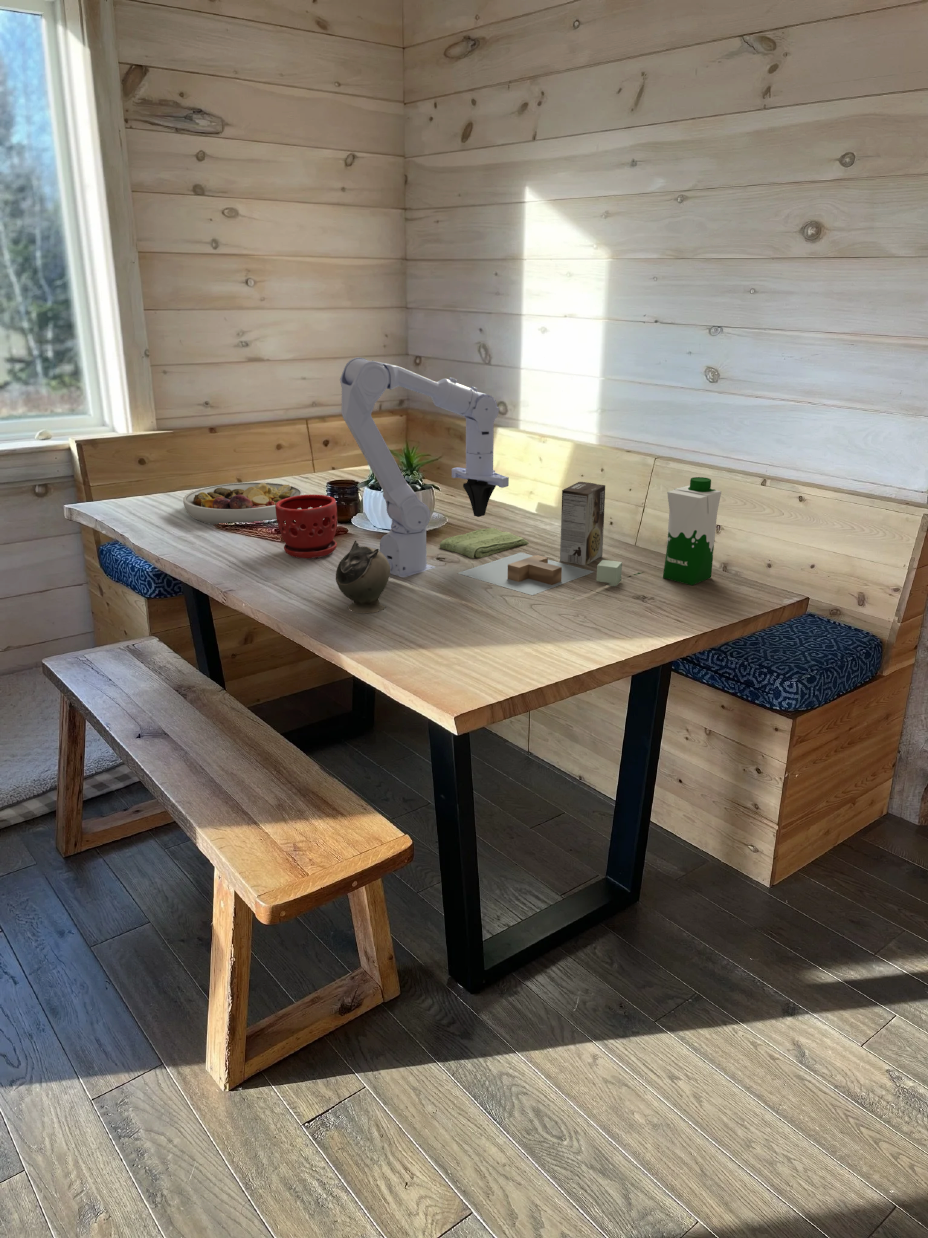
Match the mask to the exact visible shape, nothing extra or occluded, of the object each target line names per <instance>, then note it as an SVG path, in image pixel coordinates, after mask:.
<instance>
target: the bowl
mask: <svg viewBox="0 0 928 1238" xmlns="http://www.w3.org/2000/svg"><path fill="white" fill-rule="evenodd" d="M299 495H304V491H303V490H302V488H301V489H300V488H299V487H296V486H294V485H290V484H286V483H285V484H284V483H280V482H279V483H278V482H266V481H265V482H264V481H263V482H260V481H255V482H253V481H252V482H232V483H225V484H224V483H223V484H218V485H211V486H207V487H203V488H198V489H195V490H194V491H191V492H189V493H187V494H186V495H184V497H183V499H182V501H183V503H182V504H183V507H184V509H185V511H186V513H187V514H188V515H189V516H190V517H191V518H193V519H195V520H197V522H198V521H199V522H201V523H204V522H205V524H208V523H210V525H214V524H219V523H228V522H254V521H263V520H272V519H277V517H276V509H275V505H276V503H277V502H278V501H280V500H282V499H285V498H289V497H293V496H299ZM298 509H301V508H298Z"/></svg>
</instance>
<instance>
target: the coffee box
mask: <svg viewBox="0 0 928 1238" xmlns="http://www.w3.org/2000/svg"><path fill="white" fill-rule="evenodd" d="M605 500H606V485H605V484H597V483H593V482H588V481H586V482H585V481H577V482H576V483H573V484H572V485H570V486H568V487H565V488H564V489H562V490H561V515H560V516H561V518H560V520H561V521H560V544H559V545H560V547H559V562H562V563H563V562H565V563H569V564H577V565H582V566H587V565H588V564H591V563H592V562H593V561H594V562H595V560H597V559H598V558H603V549H604V527H605V508H606V507H605V505H606V503H605Z"/></svg>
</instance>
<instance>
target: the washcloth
mask: <svg viewBox="0 0 928 1238" xmlns="http://www.w3.org/2000/svg"><path fill="white" fill-rule="evenodd" d="M529 544H530V543H529V541H528V540H526V539H524V537H521V536H518V535H515V534H513V533H512V532H509V531H501V530H500V529H498V528H495V527H488V528H481V529H480V528H479V529H477V530H474V531H473V530H472V531H470V532H467V533H464V534H458V535H453V536H450V537H446V538H445V539H443V540H442V541H440V543H439V547H440V549H443V550H446V551H449V552H452V553H457V554H459V555H463V556H466V557H468V558H470V559H477V558H478V559H479V558H480V559H481V558H482V559H483V558H485V557H488V556H492V555H493V554H498V553H501V552H503V551H507V550H510V549H513V548H516V547H517V548H518V547H519V546H525V545H529Z"/></svg>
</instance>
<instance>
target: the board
mask: <svg viewBox="0 0 928 1238" xmlns="http://www.w3.org/2000/svg"><path fill="white" fill-rule="evenodd" d="M532 556H534V555H532V554H528V553H525V552H521V551H520V552H518V553H514V554H511V555H509V556H505V557H502V558H499V559H497V560H493V561H490V562H487V563H484V564H480V565H477V566H475V567H472V568H469V569H466V570H463V571H459V572H457V574H458V575H462V576H464V577H465V576H466V577H468V578H472V579H475V580H478V581H482V582H485V583H488V584H489V583H490V584H492V585H495V586H498V587H503V588H505V589H509V590H511V591H512V590H513V591H516V592H519V593H523V594H526V595H530V596H534V595H538V594H540V593H543V592H545V591H548V590H550V589H553V588H555V587H558V586H561V585H564V584H567V583H568V582H572V581H574V580H577V579H579V578H582V577H583V578H584V577H585V576H587V575H590V574H593V573H595V571H594V570H590V569H585V568H583V567H577V566H574V565H570V564H566V563H563V562H560V561H559V562H558V561H555V560H552V559H548V564H551V565H555V566H559V567H562V577H561V582H559V583H556V584H554V585H550V584H546V583H543V582H539V581H535V580H532V579H526V580H523V581H520V582H517V581H514V580H510V579H508V564H511V563H514V562H517V561H520V560H523V559H526V558H529V557H532Z"/></svg>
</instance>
